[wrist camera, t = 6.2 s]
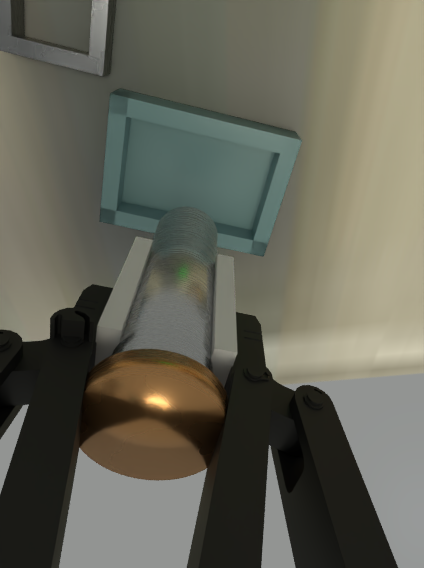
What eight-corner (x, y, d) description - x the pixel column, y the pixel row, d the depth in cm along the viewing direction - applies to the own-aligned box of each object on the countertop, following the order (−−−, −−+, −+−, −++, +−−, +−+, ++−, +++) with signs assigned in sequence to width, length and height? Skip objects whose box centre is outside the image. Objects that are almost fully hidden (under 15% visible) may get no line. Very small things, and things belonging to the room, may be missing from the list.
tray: (108, 207, 34) (99, 221, 32) (120, 88, 29) (110, 93, 27) (260, 240, 36) (263, 256, 33) (295, 131, 31) (302, 140, 28)
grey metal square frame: (10, 48, 28) (-4, 49, 27) (5, -81, 25) (-11, -90, 23) (109, 73, 29) (103, 76, 27) (120, -49, 25) (112, -55, 24)
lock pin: (142, 261, 23) (66, 467, 12) (153, 189, 21) (73, 360, 10) (216, 277, 24) (209, 490, 13) (235, 207, 21) (247, 392, 10)
